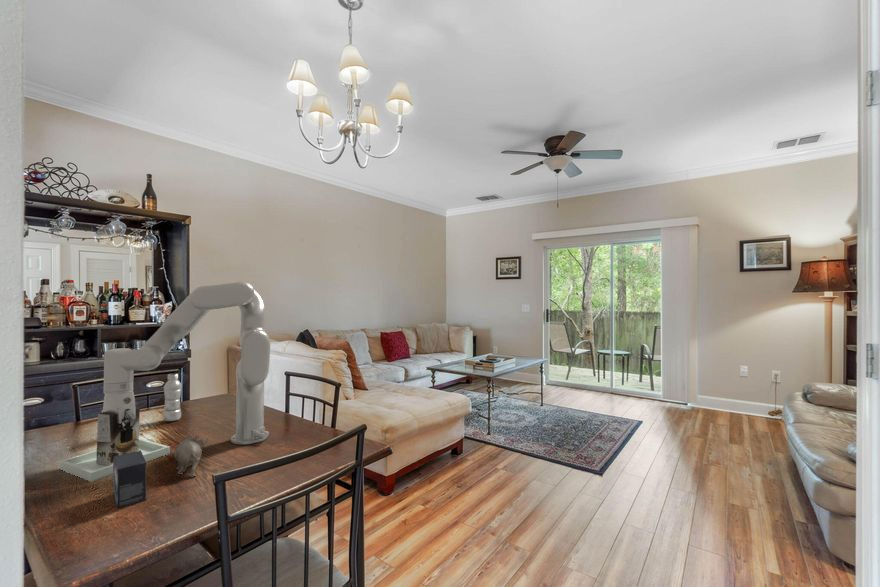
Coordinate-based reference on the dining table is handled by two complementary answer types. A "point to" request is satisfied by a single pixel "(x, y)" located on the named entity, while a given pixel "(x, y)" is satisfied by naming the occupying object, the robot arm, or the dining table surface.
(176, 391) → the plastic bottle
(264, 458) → the dining table surface
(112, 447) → the coffee box
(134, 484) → the small box
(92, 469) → the tray
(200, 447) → the rhinoceros figurine
